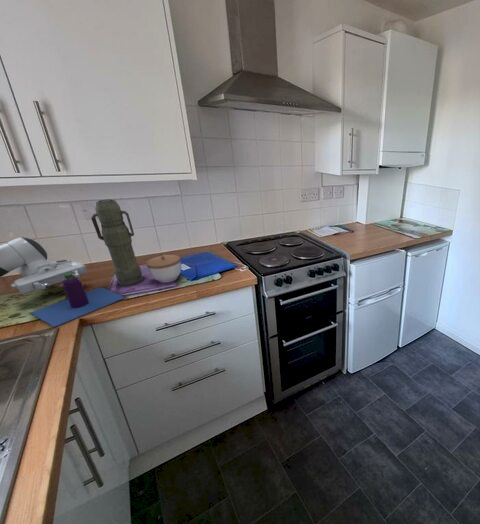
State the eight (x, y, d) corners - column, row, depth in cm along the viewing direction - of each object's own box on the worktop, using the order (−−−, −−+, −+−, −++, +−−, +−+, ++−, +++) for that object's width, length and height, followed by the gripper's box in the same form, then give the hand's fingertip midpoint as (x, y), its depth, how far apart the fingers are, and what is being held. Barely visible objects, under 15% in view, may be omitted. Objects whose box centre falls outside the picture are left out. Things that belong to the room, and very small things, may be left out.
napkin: (54, 327, 99) (53, 326, 98) (30, 313, 106) (30, 312, 106) (125, 297, 116) (125, 297, 116) (101, 287, 124) (100, 286, 124)
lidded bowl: (176, 285, 126) (170, 261, 122) (145, 286, 125) (138, 262, 121) (189, 272, 138) (184, 250, 133) (160, 273, 137) (154, 250, 133)
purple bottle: (75, 309, 108) (62, 278, 103) (68, 305, 110) (55, 275, 105) (92, 302, 112) (80, 273, 107) (85, 299, 114) (73, 270, 109)
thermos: (114, 281, 129) (86, 200, 116) (146, 274, 136) (123, 197, 122) (114, 289, 123) (84, 204, 109) (147, 281, 129) (124, 200, 115)
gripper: (4, 276, 108) (20, 285, 102) (73, 257, 124) (91, 264, 118) (12, 292, 110) (28, 301, 104) (79, 271, 127) (96, 278, 121)
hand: (62, 281), depth 111 cm, fingers open, 8 cm apart
